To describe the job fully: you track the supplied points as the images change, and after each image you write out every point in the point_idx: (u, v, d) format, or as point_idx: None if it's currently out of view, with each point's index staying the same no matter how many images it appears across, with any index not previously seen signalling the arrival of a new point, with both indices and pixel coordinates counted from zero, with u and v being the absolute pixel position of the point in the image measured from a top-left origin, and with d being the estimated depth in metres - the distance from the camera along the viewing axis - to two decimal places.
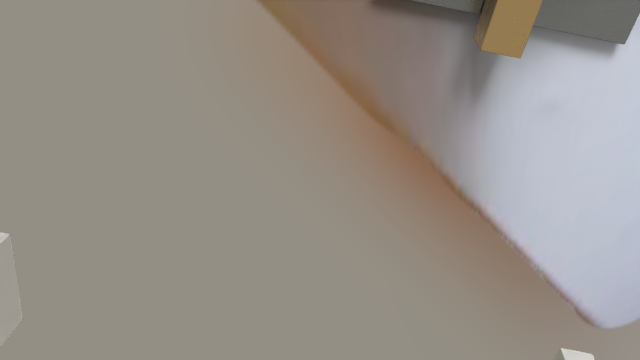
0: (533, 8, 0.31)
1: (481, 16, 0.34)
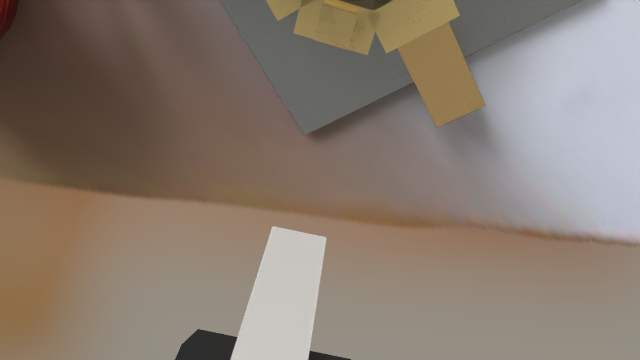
0: (454, 54, 0.24)
1: None
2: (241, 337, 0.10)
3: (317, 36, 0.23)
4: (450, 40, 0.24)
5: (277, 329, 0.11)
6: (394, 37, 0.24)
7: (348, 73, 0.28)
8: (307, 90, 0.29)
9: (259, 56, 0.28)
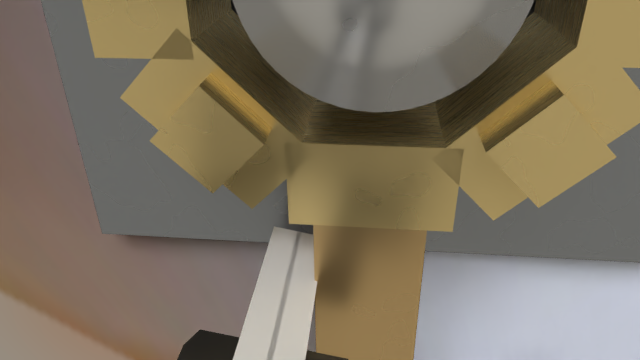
0: (406, 284, 0.12)
1: None
2: (243, 337, 0.10)
3: (160, 139, 0.10)
4: (413, 259, 0.12)
5: (274, 328, 0.11)
6: (317, 206, 0.11)
7: None
8: (136, 172, 0.15)
9: (69, 76, 0.14)
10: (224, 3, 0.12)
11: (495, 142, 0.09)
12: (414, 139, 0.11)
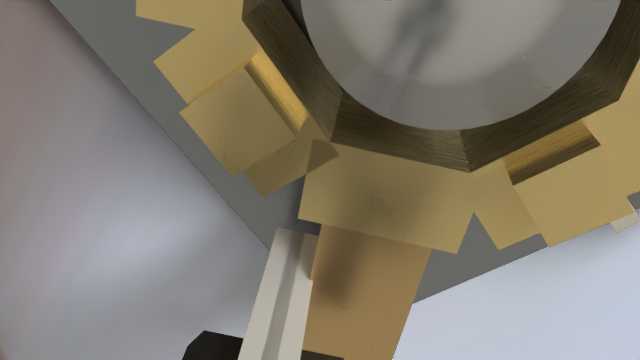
0: (399, 296, 0.12)
1: None
2: (247, 338, 0.10)
3: (191, 113, 0.10)
4: (411, 273, 0.12)
5: (270, 328, 0.11)
6: (330, 207, 0.11)
7: None
8: None
9: None
10: None
11: (523, 177, 0.10)
12: (439, 158, 0.11)
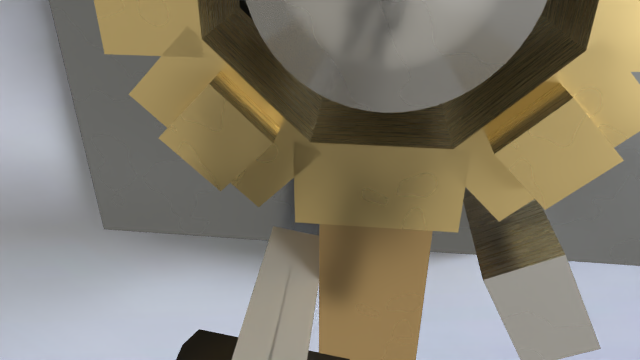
0: (411, 283, 0.12)
1: None
2: (242, 337, 0.10)
3: (169, 136, 0.10)
4: (417, 259, 0.12)
5: (276, 329, 0.11)
6: (324, 205, 0.11)
7: None
8: None
9: None
10: (233, 1, 0.12)
11: (503, 143, 0.10)
12: (422, 140, 0.11)
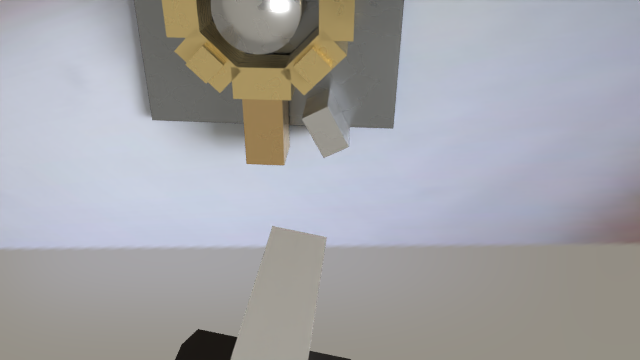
0: (277, 123, 0.33)
1: None
2: (241, 337, 0.10)
3: (189, 64, 0.30)
4: (278, 112, 0.32)
5: (277, 329, 0.11)
6: (243, 91, 0.32)
7: None
8: None
9: None
10: (209, 18, 0.32)
11: (295, 64, 0.30)
12: (275, 66, 0.31)
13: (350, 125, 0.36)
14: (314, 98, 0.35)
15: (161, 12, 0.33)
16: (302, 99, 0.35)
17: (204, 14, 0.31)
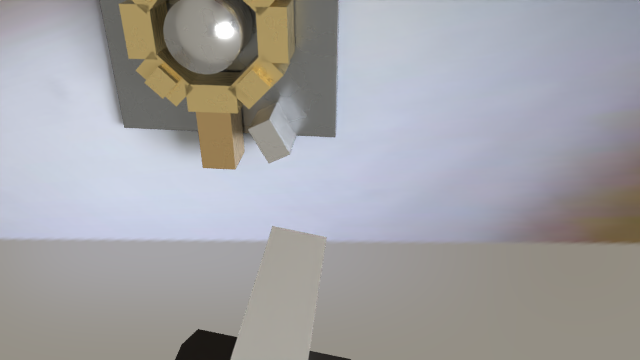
0: (227, 132, 0.37)
1: None
2: (241, 337, 0.10)
3: (147, 82, 0.35)
4: (228, 123, 0.37)
5: (277, 329, 0.11)
6: (196, 105, 0.37)
7: None
8: None
9: None
10: None
11: (238, 82, 0.35)
12: (223, 83, 0.36)
13: (297, 134, 0.41)
14: (263, 110, 0.39)
15: None
16: (253, 110, 0.40)
17: (161, 38, 0.36)
